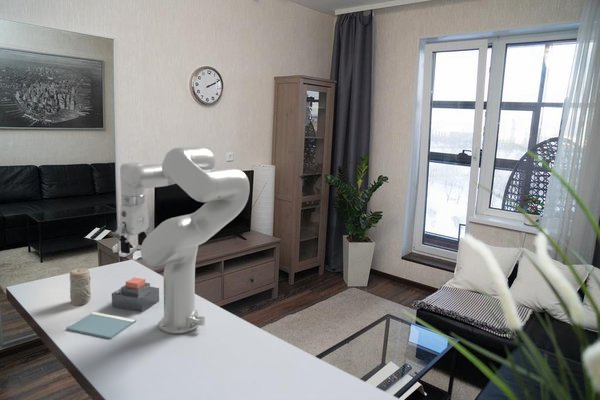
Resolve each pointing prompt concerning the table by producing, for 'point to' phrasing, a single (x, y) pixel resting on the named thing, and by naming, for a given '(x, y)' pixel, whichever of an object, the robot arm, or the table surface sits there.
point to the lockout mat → (101, 325)
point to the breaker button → (135, 283)
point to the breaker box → (135, 298)
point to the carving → (80, 286)
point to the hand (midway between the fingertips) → (134, 248)
